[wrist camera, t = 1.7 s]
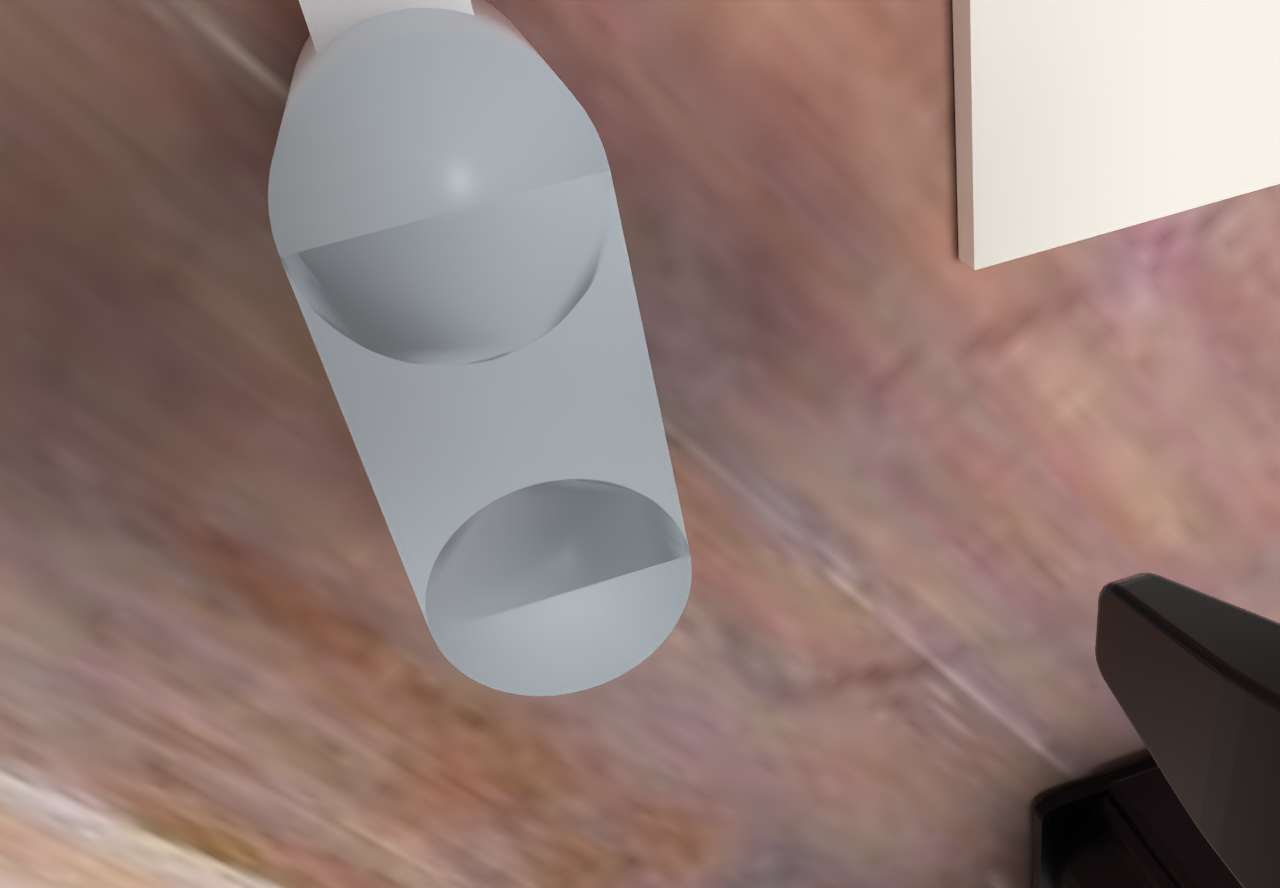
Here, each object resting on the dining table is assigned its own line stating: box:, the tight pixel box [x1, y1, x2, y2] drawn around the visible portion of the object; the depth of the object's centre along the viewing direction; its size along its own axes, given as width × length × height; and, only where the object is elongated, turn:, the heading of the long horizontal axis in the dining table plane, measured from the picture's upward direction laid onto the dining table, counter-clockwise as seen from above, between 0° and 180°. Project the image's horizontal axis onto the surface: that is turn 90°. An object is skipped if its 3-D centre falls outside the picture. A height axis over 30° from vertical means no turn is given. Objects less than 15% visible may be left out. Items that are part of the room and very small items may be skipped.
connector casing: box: [268, 0, 692, 696], centre depth 15 cm, size 13×4×5 cm, turn 11°
